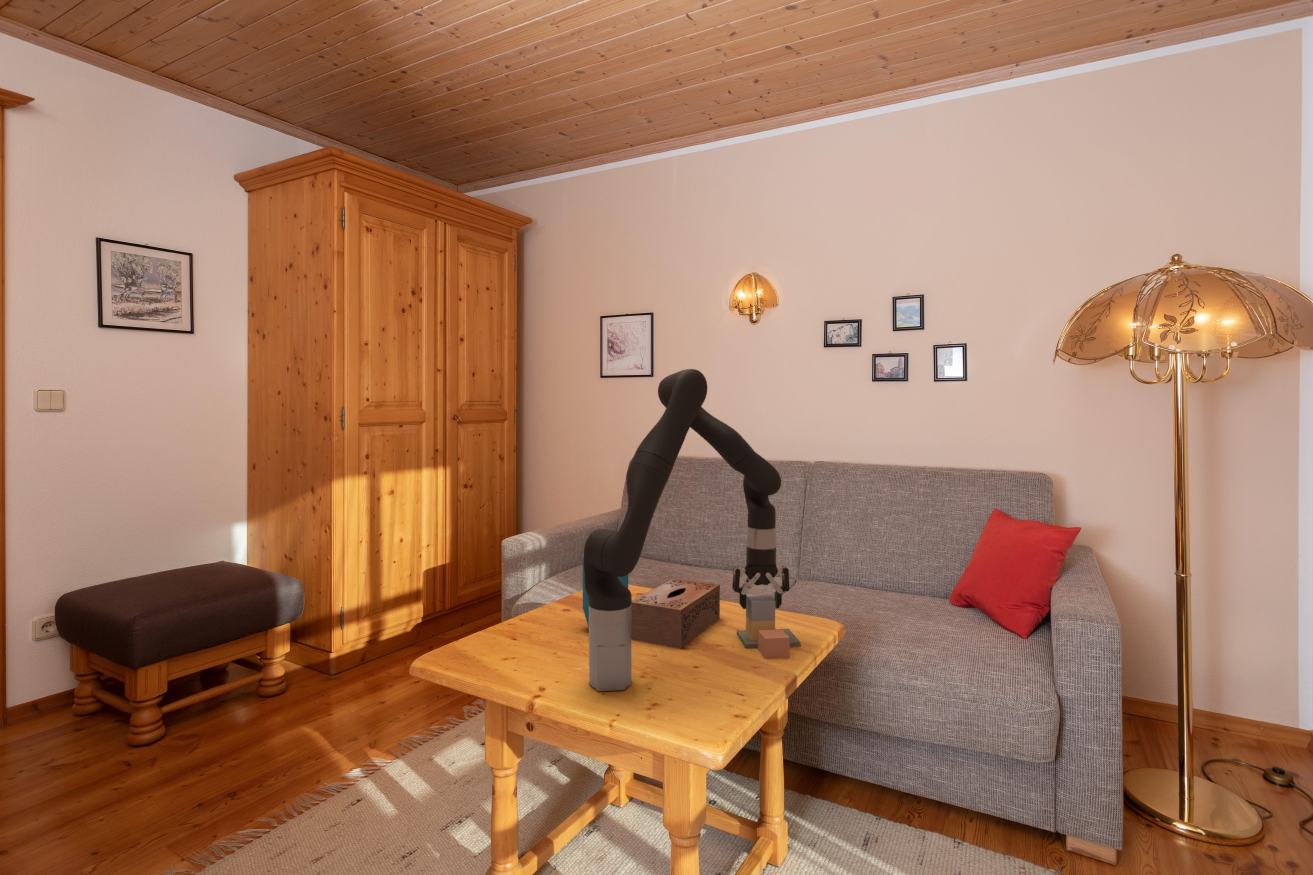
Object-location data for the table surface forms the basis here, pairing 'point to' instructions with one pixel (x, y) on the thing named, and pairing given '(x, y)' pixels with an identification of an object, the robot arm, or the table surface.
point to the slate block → (760, 607)
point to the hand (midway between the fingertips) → (760, 607)
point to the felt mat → (754, 644)
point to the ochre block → (757, 627)
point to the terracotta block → (773, 643)
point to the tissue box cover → (675, 612)
